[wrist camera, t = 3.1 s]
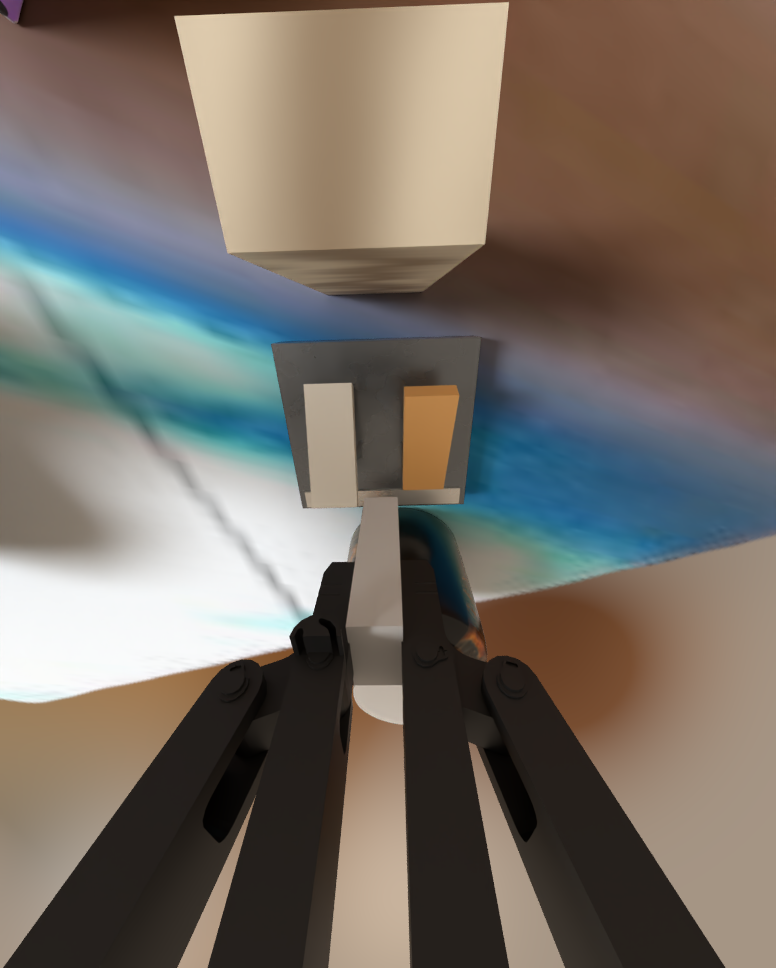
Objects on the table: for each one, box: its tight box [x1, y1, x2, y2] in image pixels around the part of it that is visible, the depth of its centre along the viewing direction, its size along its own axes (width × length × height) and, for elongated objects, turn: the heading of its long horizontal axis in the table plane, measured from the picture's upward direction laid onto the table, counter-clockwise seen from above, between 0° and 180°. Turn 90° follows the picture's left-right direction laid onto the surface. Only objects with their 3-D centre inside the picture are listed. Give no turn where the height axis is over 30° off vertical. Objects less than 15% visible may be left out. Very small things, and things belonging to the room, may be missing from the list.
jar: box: [347, 508, 487, 725], centre depth 27 cm, size 12×12×15 cm
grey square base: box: [271, 336, 481, 508], centre depth 25 cm, size 15×14×4 cm
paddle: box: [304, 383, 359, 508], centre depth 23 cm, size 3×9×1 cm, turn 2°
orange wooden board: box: [402, 385, 459, 490], centre depth 23 cm, size 3×9×1 cm, turn 2°
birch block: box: [174, 2, 509, 295], centre depth 14 cm, size 7×4×16 cm, turn 92°
